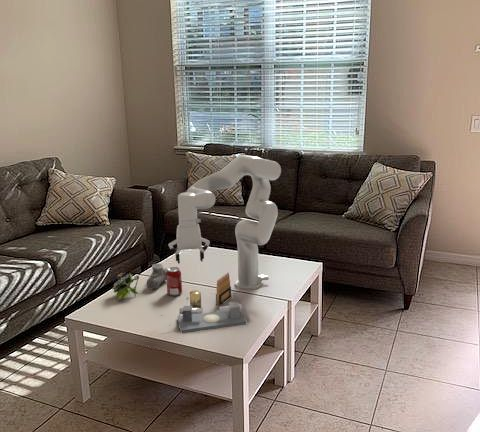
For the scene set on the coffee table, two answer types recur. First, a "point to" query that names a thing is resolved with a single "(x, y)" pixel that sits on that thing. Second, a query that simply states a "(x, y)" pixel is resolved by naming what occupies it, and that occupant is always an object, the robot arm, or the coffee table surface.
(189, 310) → the grey block on rod
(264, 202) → the robot arm
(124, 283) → the passion flower
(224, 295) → the ammunition clip
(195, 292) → the tan rounded cylinder
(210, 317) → the shaft rig
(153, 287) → the pipe fitting
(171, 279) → the soda can
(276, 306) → the coffee table surface
